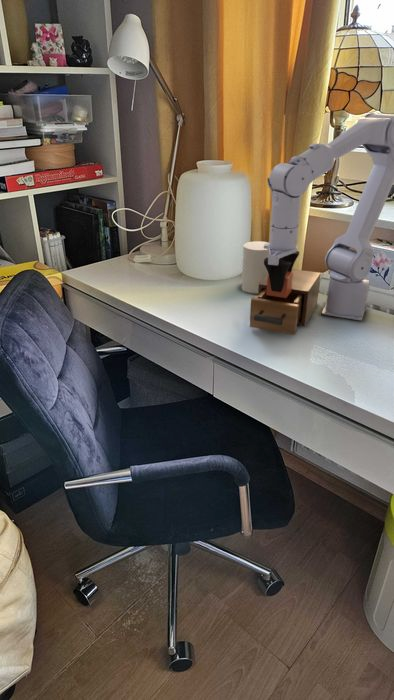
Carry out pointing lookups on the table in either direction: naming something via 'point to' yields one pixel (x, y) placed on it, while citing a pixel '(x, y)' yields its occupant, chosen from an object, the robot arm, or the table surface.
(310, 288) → the cabinet
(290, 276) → the block
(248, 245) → the cream upright cylinder
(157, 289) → the table surface
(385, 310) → the table surface
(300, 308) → the drawer
